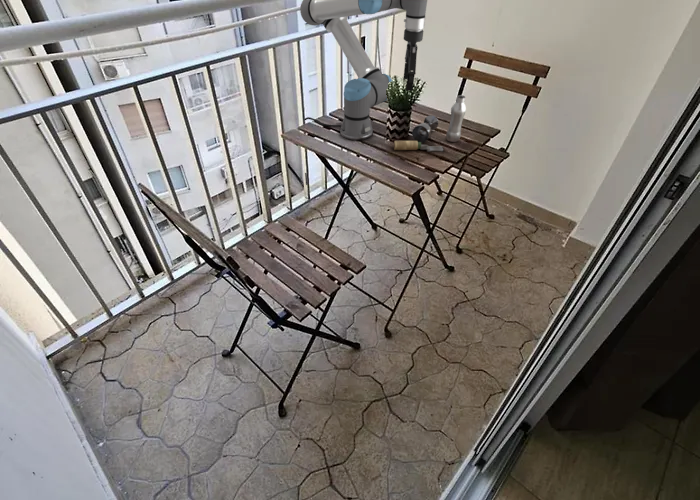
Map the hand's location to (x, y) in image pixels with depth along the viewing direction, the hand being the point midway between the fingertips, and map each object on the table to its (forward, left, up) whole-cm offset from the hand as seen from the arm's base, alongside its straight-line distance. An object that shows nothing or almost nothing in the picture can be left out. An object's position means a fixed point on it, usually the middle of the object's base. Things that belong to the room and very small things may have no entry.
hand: (407, 84), depth 167 cm
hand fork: (+10, -11, -23) cm, 28 cm away
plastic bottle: (+23, +3, -24) cm, 33 cm away
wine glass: (+11, +10, -20) cm, 25 cm away
